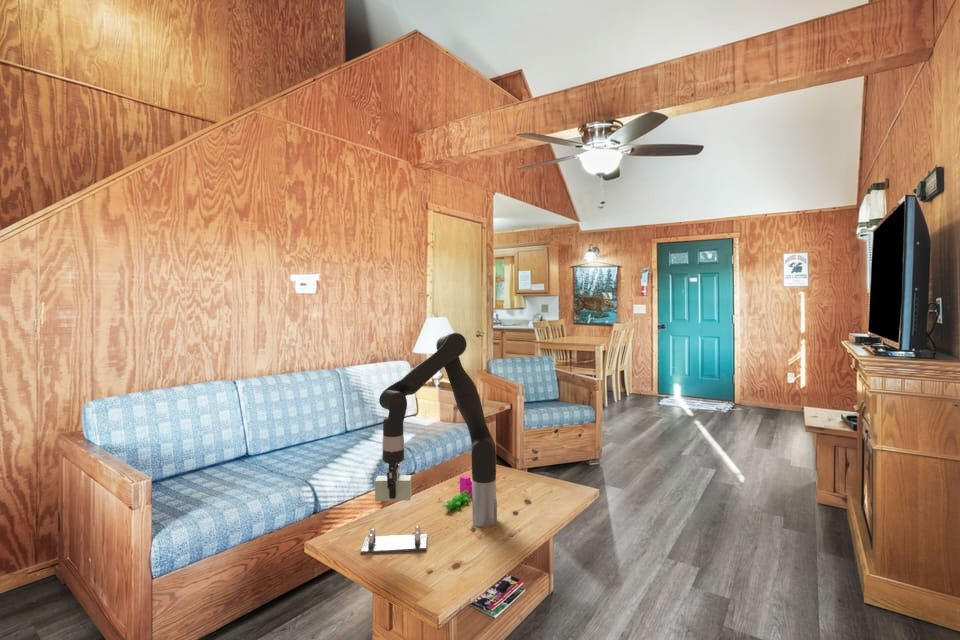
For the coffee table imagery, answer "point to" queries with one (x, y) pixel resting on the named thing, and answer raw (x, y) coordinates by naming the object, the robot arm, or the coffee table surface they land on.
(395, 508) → the coffee table surface
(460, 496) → the crocodile figurine
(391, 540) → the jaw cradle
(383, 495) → the block
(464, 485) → the toy block
